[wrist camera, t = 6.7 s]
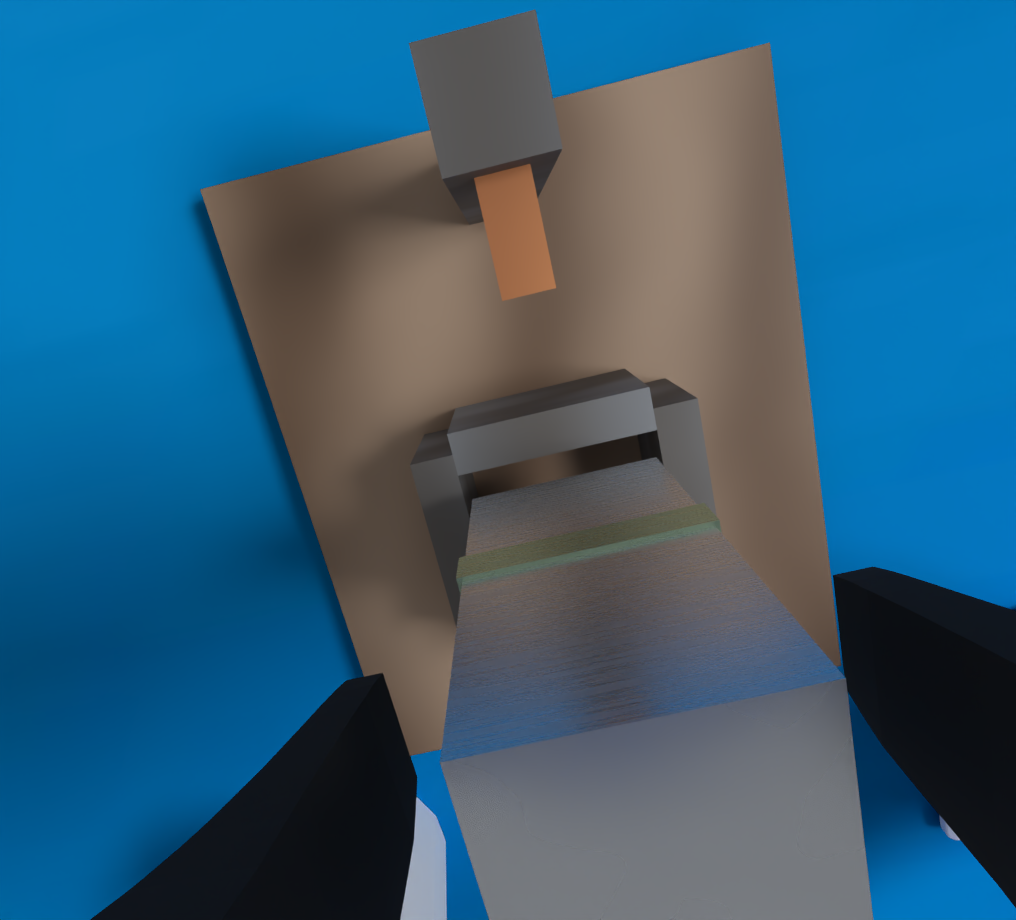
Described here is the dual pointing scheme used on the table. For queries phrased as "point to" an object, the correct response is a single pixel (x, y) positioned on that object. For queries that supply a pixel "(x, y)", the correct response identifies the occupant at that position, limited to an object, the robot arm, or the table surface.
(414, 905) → the shot glass
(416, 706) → the stand
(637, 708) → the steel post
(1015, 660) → the robot arm
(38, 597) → the table surface
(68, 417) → the table surface
